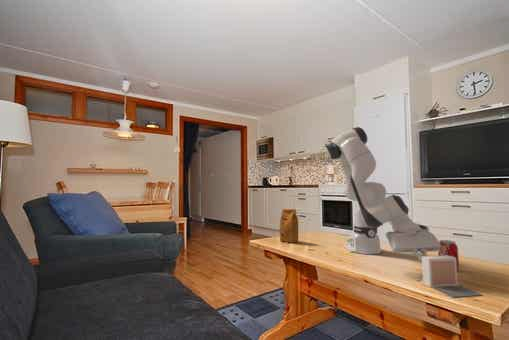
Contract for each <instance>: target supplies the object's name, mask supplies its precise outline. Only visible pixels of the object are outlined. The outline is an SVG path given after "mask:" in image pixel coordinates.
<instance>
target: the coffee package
mask: <svg viewBox="0 0 509 340" xmlns="http://www.w3.org/2000/svg"><path fill="white" fill-rule="evenodd" d="M278 232H279V241H280V240H281V241H280V242H282V241H285V242H290V243H289V244H294V243H296V241H297V242H299V218H298V215H297V209H294V208H292V209H287V208H283V209H282V212H281V216H280V220H279V231H278ZM285 242H284V243H285Z"/></svg>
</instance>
